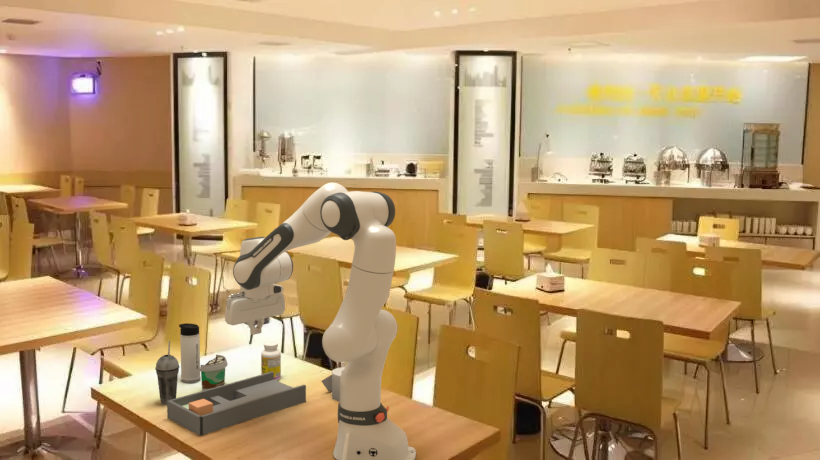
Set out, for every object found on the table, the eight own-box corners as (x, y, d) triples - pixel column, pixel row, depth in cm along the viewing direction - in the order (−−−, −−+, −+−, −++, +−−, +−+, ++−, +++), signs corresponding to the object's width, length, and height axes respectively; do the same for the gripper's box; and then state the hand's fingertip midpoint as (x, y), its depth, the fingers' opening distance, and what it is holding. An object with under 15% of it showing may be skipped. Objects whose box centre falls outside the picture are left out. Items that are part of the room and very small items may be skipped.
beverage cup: (151, 404, 241) (149, 342, 238) (168, 396, 247) (166, 337, 244) (168, 408, 238) (166, 346, 235) (185, 401, 244) (183, 340, 241)
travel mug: (179, 378, 264) (177, 322, 261) (198, 376, 267) (197, 320, 264) (181, 384, 259) (180, 327, 256) (201, 382, 261) (200, 325, 258)
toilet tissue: (324, 390, 257) (324, 365, 255) (363, 393, 255) (363, 368, 253) (316, 399, 248) (316, 374, 247) (357, 403, 246) (357, 377, 245)
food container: (217, 396, 249) (217, 366, 247) (200, 394, 250) (199, 365, 248) (234, 383, 261) (233, 355, 259) (217, 382, 262) (216, 354, 260)
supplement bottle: (260, 376, 268) (260, 341, 266) (279, 375, 270) (279, 340, 268) (262, 383, 262) (262, 346, 260) (281, 381, 264) (281, 345, 262)
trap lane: (271, 387, 258) (271, 371, 257) (305, 401, 246) (305, 385, 245) (167, 418, 230) (167, 400, 229) (200, 436, 218) (199, 417, 217)
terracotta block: (203, 411, 228) (203, 398, 228) (213, 416, 225) (212, 403, 224) (188, 415, 225) (188, 402, 224) (198, 420, 221) (197, 407, 221)
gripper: (232, 296, 223) (233, 342, 225) (287, 286, 238) (288, 329, 240) (220, 293, 227) (221, 338, 229) (275, 283, 242) (275, 325, 244)
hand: (255, 333), depth 235 cm, fingers closed
